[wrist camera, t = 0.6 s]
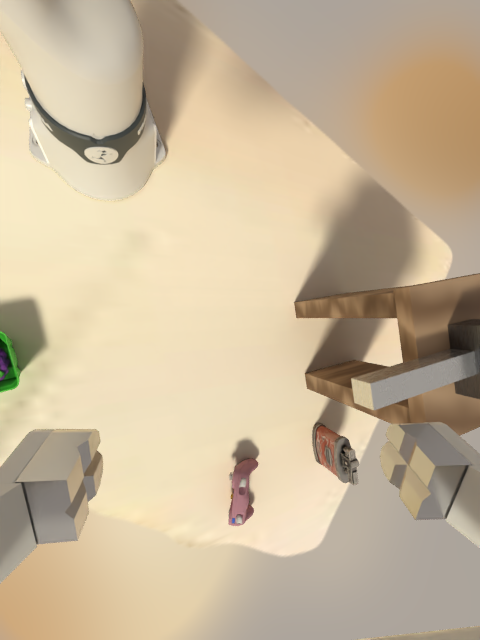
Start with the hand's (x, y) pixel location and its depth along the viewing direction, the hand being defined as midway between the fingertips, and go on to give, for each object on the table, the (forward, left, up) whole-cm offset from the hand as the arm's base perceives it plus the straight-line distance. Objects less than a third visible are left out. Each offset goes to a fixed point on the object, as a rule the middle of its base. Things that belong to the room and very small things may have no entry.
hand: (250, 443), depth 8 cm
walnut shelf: (+6, +32, -42) cm, 53 cm away
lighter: (+26, +27, -42) cm, 56 cm away
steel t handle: (+6, +25, -16) cm, 30 cm away
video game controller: (+28, +9, -42) cm, 52 cm away
